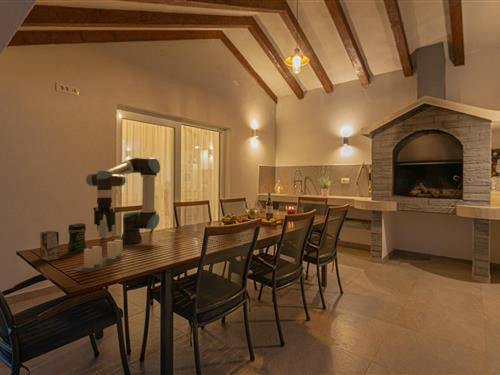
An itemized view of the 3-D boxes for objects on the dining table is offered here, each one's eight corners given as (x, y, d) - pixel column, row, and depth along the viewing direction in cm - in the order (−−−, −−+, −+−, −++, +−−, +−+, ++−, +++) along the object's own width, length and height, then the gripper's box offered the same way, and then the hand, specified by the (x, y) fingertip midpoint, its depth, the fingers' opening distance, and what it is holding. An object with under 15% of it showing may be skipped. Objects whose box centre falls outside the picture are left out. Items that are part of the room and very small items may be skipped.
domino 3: (102, 236, 155) (102, 219, 154) (109, 237, 153) (109, 220, 153) (99, 237, 153) (99, 220, 153) (107, 237, 152) (107, 220, 151)
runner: (113, 254, 168) (113, 253, 168) (129, 256, 166) (129, 255, 165) (71, 270, 139) (71, 269, 139) (89, 272, 136) (89, 272, 136)
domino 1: (86, 266, 145) (86, 248, 144) (94, 267, 143) (94, 249, 143) (84, 267, 143) (84, 249, 143) (91, 268, 142) (91, 250, 141)
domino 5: (116, 255, 166) (115, 239, 166) (122, 255, 165) (122, 240, 164) (114, 255, 164) (114, 240, 164) (120, 256, 163) (120, 240, 163)
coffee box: (59, 258, 159) (59, 232, 159) (47, 261, 154) (46, 233, 153) (52, 255, 164) (52, 230, 163) (40, 258, 158) (39, 232, 158)
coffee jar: (72, 254, 168) (72, 225, 167) (66, 252, 172) (65, 224, 171) (88, 250, 176) (88, 223, 175) (81, 248, 180) (81, 222, 179)
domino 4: (109, 257, 161) (109, 241, 160) (116, 258, 159) (116, 242, 159) (107, 258, 159) (107, 242, 159) (114, 259, 158) (114, 242, 157)
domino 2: (94, 263, 150) (94, 246, 149) (102, 264, 149) (101, 246, 148) (92, 264, 148) (92, 246, 148) (99, 265, 147) (99, 247, 147)
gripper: (86, 197, 151) (86, 237, 152) (112, 198, 147) (112, 239, 147) (96, 196, 158) (97, 234, 159) (122, 197, 154) (122, 236, 155)
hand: (104, 236), depth 153 cm, fingers closed on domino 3, 5 cm apart
